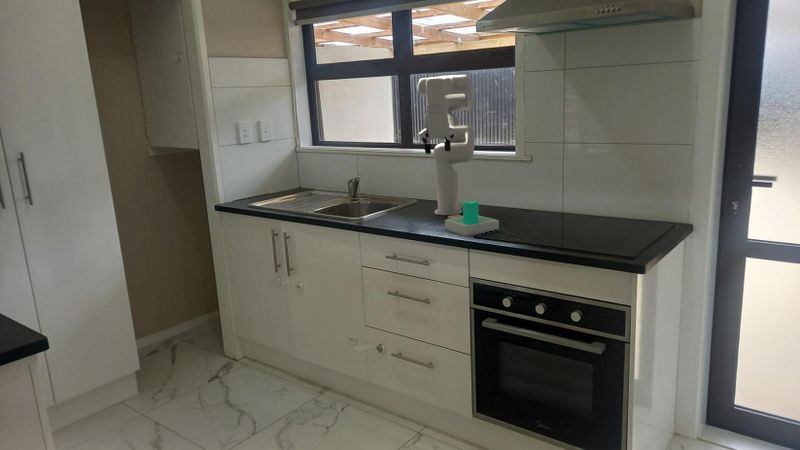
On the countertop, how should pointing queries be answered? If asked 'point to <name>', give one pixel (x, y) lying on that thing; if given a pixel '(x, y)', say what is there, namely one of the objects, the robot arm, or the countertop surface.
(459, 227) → the bin
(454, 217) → the oak block
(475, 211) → the candle
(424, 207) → the countertop surface
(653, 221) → the countertop surface
